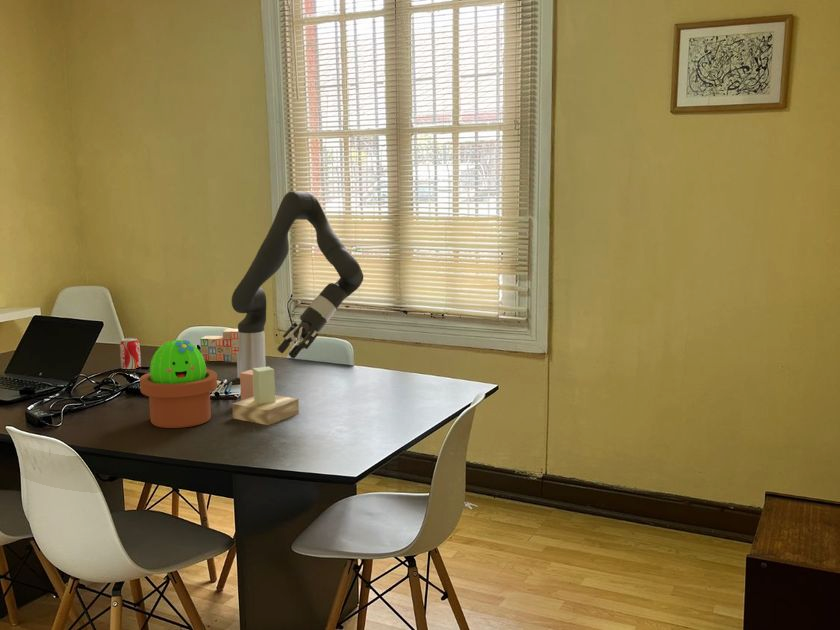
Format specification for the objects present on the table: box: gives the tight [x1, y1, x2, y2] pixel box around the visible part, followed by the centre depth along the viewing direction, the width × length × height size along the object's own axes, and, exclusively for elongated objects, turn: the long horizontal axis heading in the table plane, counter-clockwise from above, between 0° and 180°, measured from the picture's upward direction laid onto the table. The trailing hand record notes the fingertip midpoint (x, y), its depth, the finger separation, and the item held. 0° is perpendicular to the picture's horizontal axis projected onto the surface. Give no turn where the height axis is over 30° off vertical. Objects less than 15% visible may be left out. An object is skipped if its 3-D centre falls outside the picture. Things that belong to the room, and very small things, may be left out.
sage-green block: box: [253, 366, 276, 404], centre depth 254 cm, size 5×5×10 cm
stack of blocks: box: [200, 328, 239, 363], centre depth 330 cm, size 21×6×12 cm, turn 85°
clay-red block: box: [239, 370, 254, 401], centre depth 270 cm, size 5×5×10 cm
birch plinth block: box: [231, 394, 300, 426], centre depth 255 cm, size 14×14×5 cm
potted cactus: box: [139, 338, 218, 429], centre depth 249 cm, size 22×22×25 cm
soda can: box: [119, 337, 142, 370], centre depth 313 cm, size 7×7×12 cm
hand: (285, 354), depth 256 cm, fingers open, 8 cm apart
